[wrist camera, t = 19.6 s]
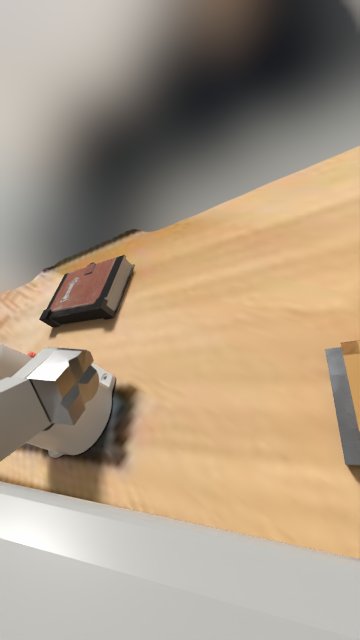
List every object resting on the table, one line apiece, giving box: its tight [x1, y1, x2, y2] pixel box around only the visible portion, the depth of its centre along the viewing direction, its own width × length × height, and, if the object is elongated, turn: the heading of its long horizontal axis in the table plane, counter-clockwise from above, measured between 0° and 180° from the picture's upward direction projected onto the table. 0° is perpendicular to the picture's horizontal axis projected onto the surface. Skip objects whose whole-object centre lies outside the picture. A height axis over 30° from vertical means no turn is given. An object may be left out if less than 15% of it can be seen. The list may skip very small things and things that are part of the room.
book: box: [39, 255, 134, 327], centre depth 77 cm, size 26×18×5 cm
